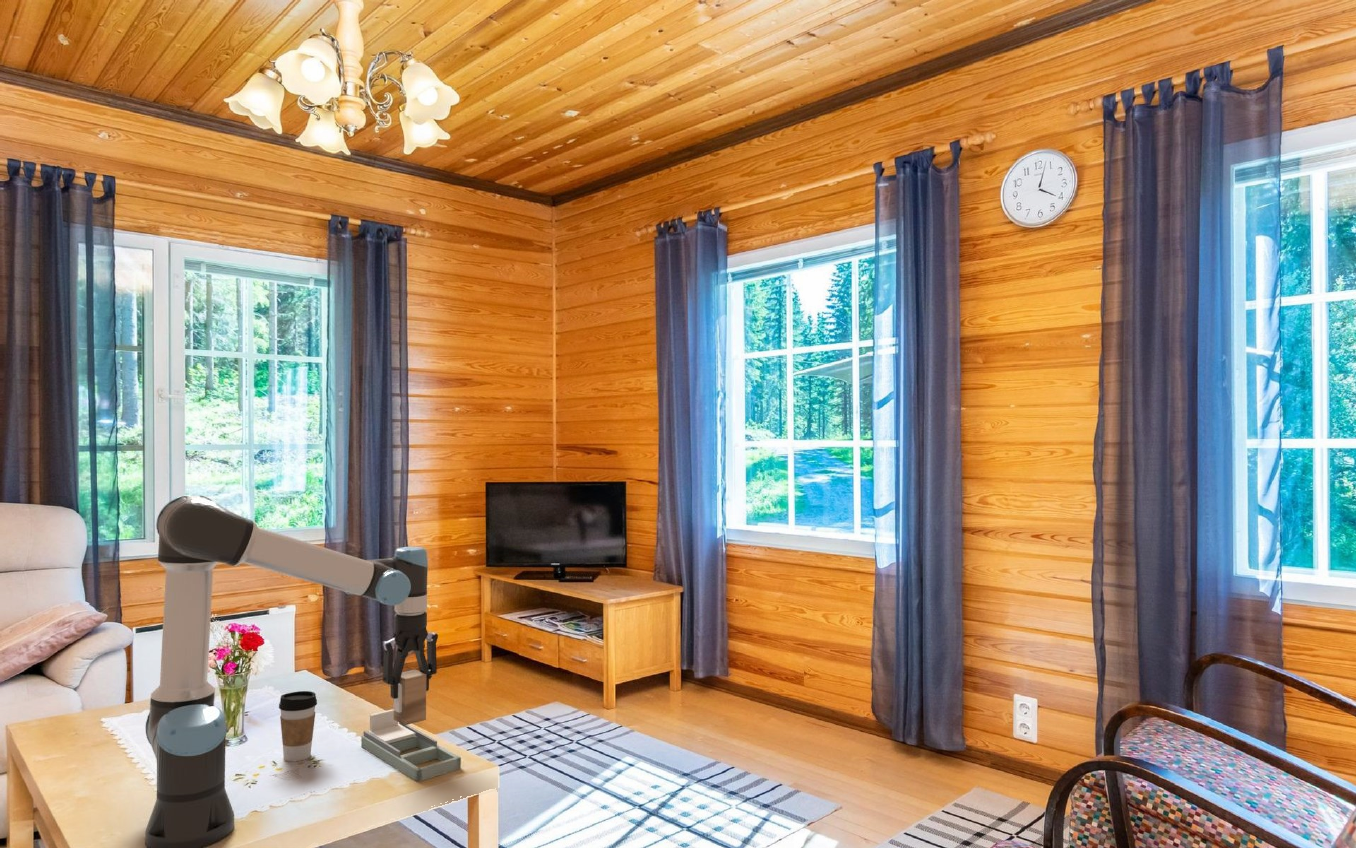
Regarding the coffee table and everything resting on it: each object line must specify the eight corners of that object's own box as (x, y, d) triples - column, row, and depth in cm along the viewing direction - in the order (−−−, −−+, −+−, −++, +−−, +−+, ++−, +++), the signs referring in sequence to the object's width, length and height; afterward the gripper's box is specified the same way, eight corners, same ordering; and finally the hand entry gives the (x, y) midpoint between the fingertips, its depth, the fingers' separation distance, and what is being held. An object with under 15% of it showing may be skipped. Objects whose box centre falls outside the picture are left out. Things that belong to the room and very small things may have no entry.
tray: (460, 768, 202) (460, 752, 202) (417, 781, 194) (417, 765, 194) (402, 735, 222) (403, 721, 222) (361, 746, 214) (361, 731, 214)
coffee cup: (269, 759, 205) (270, 696, 205) (300, 747, 212) (301, 686, 212) (293, 766, 201) (294, 702, 201) (324, 754, 208) (325, 692, 208)
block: (425, 720, 208) (426, 674, 208) (404, 725, 204) (405, 679, 204) (414, 714, 212) (415, 669, 212) (393, 719, 208) (394, 674, 208)
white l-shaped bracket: (415, 736, 214) (415, 717, 214) (384, 744, 208) (385, 724, 208) (398, 726, 220) (398, 707, 220) (367, 734, 215) (368, 715, 215)
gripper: (437, 603, 217) (436, 695, 217) (366, 615, 204) (365, 713, 204) (453, 608, 212) (452, 703, 212) (381, 621, 199) (380, 721, 199)
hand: (409, 707), depth 208 cm, fingers closed on block, 5 cm apart
